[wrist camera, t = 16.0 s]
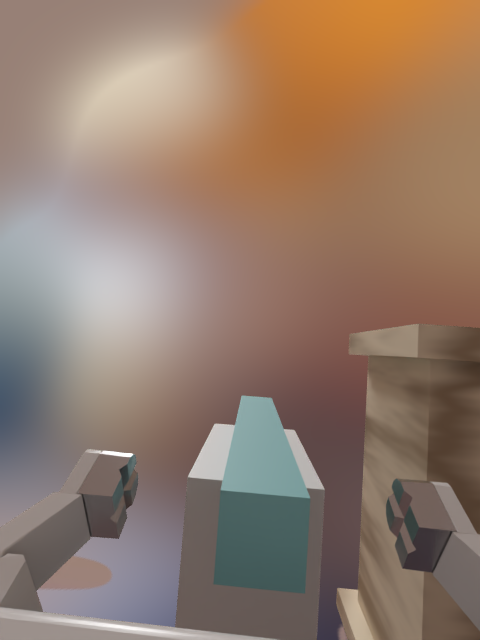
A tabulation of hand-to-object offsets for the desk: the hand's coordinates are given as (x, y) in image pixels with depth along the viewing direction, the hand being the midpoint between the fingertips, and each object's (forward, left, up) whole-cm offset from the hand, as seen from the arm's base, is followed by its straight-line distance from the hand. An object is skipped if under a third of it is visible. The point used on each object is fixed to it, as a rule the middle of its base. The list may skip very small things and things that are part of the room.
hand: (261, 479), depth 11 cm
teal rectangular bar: (0, -13, -4) cm, 13 cm away
